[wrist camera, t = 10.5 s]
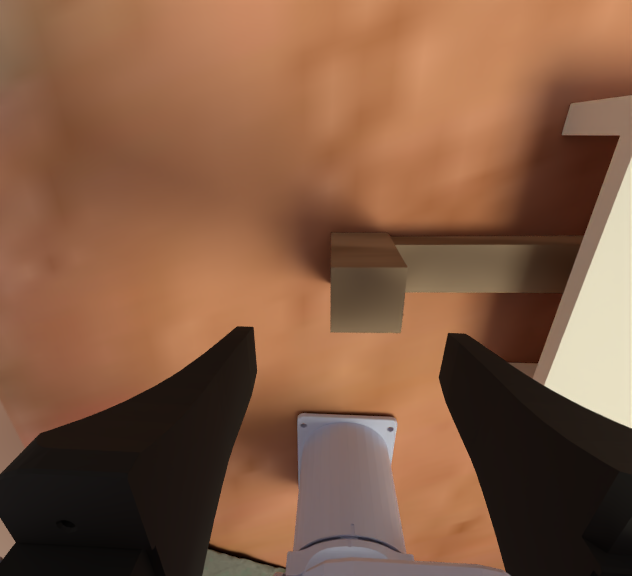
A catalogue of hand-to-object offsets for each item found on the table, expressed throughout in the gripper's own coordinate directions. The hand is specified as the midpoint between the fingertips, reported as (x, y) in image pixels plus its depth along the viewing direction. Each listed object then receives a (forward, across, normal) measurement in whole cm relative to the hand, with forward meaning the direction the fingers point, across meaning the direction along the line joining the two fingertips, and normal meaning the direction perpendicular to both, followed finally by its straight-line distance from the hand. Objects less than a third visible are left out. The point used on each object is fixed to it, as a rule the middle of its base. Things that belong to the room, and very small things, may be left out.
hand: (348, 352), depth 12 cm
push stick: (+10, -8, 0) cm, 13 cm away
